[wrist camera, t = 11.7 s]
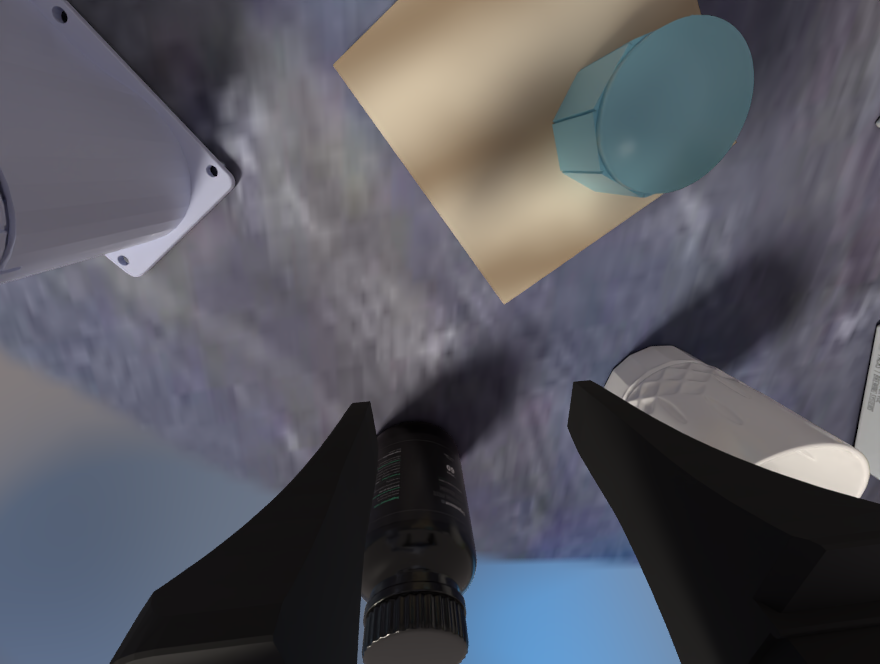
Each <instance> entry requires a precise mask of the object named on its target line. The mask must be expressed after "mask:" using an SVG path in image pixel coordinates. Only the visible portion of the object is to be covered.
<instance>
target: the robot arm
mask: <svg viewBox="0 0 880 664" xmlns="http://www.w3.org/2000/svg"><path fill="white" fill-rule="evenodd" d="M63 11H65V12H66V14H67V17H68V20H67V22H66V23H64V22H63V20H62V17H61V14H62V12H63ZM211 166H214V167H216V169H217V170H218V175H217V176H216V177H215V176H214V175H212V173H211V171H210V168H211ZM234 186H235V179H234V177H233V175H232V174H231V173H230V172H229V171H228V170H227V168H226V167H225V166H224V165H223V164H222V163H221V162H220V161H219V160H218V159H217V158H216V157H215V156H214V155H213V154H212V153H211V152H210V151H209V150H208V148H207V147H206V146H205V145H204V144H203V143H202V142H201V141H200V140H199V139H198V138H197V137H196V136H195V135H194V134H193V133H192V132H191V131H190V130H189V128H188V127H187V126H186V125H185V124H184V123H183V122H182V121H181V120H180V119H179V118H178V117H177V116H176V115H175V114H174V113H173V112H172V111H171V110H170V109H169V107H168V106H167V105H166V104H165V103H164V102H163V101H162V100H161V99H160V98H159V97H158V96H157V95H156V94H155V93H154V92H153V91H152V90H151V89H150V87H149V86H148V85H147V84H146V83H145V82H144V81H143V80H142V79H141V78H140V77H139V76H138V75H137V74H136V73H135V72H134V71H133V70H132V69H131V67H130V66H129V65H128V64H127V63H126V62H125V61H124V60H123V59H122V58H121V57H120V56H119V55H118V54H117V53H116V52H115V51H114V50H113V49H112V48H111V46H110V45H109V44H108V43H107V42H106V41H105V40H104V39H103V38H102V37H101V36H100V35H99V34H98V33H97V32H96V31H95V30H94V29H93V28H92V26H91V25H90V24H89V23H88V22H87V21H86V20H85V19H84V18H83V17H82V16H81V15H80V14H79V13H78V12H77V11H76V10H75V9H74V8H73V6H72V5H71V4H70V3H69V2H68V1H67V0H0V284H3V283H6V282H10V281H13V280H17V279H20V278H24V277H27V276H31V275H34V274H38V273H41V272H45V271H48V270H52V269H55V268H59V267H62V266H66V265H69V264H73V263H76V262H80V261H83V260H87V259H90V258H94V257H98V256H101V255H105V256H106V257H107V258H109V259H110V260H111V261H112V262H114V263H115V264H116V265H117V266H119V267H120V268H121V269H122V270H124V271H125V272H126V273H127V274H129V275H131V276H134V277H139V276H142V275H144V274H146V273H147V272H148V271H149V270H150V269H151V268H152V267H153V266H154V265H155V264H156V263H157V262H158V261H159V260H160V259H161V258H162V257H163V256H164V255H165V254H166V253H168V252H169V251H170V250H171V249H172V248H173V247H174V246H175V245H176V244H177V243H178V242H179V241H180V240H181V239H182V238H183V237H184V236H185V235H186V234H187V233H188V232H189V231H190V230H191V229H192V228H193V227H194V226H195V225H196V224H197V223H198V222H199V221H200V220H201V219H202V218H203V217H205V216H206V215H207V214H208V213H209V212H210V211H211V210H212V209H213V208H214V207H215V206H216V205H217V204H218V203H219V202H220V201H221V200H222V199H223V198H224V197H225V196H226V195H227V194H228V193H229V192H230V191H231V190H232V189H233V188H234ZM123 256H125V257H126V258H127V259H128V260H129V263H127V262H126V261H125V260H124V258H123ZM567 427H568V429H569V432H570V434H571V437H572V439H573V441H574V444H575V446H576V448H577V450H578V452H579V454H580V456H581V458H582V459H583V461H584V463H585V465H586V466H587V468H588V470H589V471H590V473H591V475H592V476H593V478H594V480H595V481H596V483H597V485H598V486H599V488H600V490H601V491H602V493H603V495H604V496H605V498H606V499H607V501H608V503H609V504H610V506H611V508H612V509H613V511H614V513H615V515H616V517H617V518H618V520H619V522H620V524H621V526H622V528H623V530H624V532H625V534H626V536H627V538H628V540H629V543H630V545H631V547H632V549H633V551H634V553H635V555H636V557H637V559H638V562H639V564H640V566H641V568H642V570H643V573H644V575H645V577H646V579H647V582H648V584H649V586H650V588H651V590H652V593H653V595H654V598H655V600H656V602H657V605H658V607H659V610H660V612H661V614H662V617H663V619H664V621H665V623H666V626H667V629H668V631H669V633H670V636H671V639H672V641H673V644H674V646H675V649H676V652H677V654H678V657H679V659H680V662H681V664H880V504H878V503H874V502H871V501H867V500H864V499H860V498H857V497H853V496H850V495H846V494H843V493H839V492H836V491H832V490H829V489H825V488H822V487H819V486H815V485H812V484H809V483H806V482H803V481H800V480H797V479H794V478H791V477H788V476H785V475H782V474H780V473H777V472H774V471H771V470H768V469H766V468H763V467H760V466H758V465H755V464H753V463H750V462H747V461H745V460H742V459H740V458H737V457H735V456H732V455H730V454H728V453H725V452H723V451H720V450H718V449H716V448H714V447H712V446H709V445H707V444H705V443H703V442H701V441H698V440H696V439H694V438H692V437H690V436H688V435H686V434H684V433H682V432H680V431H678V430H676V429H674V428H672V427H671V426H669V425H667V424H665V423H663V422H661V421H659V420H657V419H656V418H654V417H652V416H650V415H649V414H647V413H645V412H643V411H642V410H640V409H638V408H637V407H635V406H633V405H632V404H630V403H628V402H627V401H625V400H623V399H622V398H620V397H618V396H617V395H615V394H613V393H612V392H610V391H608V390H607V389H605V388H603V387H602V386H600V385H598V384H596V383H594V382H593V381H591V380H588V381H578V382H573V389H572V396H571V403H570V411H569V418H568V425H567ZM377 466H378V441H377V435H376V430H375V425H374V419H373V414H372V409H371V403H370V401H369V402H359V403H352V404H351V405H350V407H349V408H348V410H347V411H346V412H345V414H344V415H343V417H342V418H341V420H340V421H339V423H338V424H337V425H336V427H335V428H334V430H333V431H332V432H331V434H330V435H329V436H328V438H327V439H326V440H325V442H324V443H323V444H322V446H321V447H320V448H319V450H318V451H317V452H316V453H315V454H314V456H313V457H312V458H311V459H310V460H309V462H308V463H307V464H306V465H305V466H304V468H303V469H302V470H301V471H300V472H299V473H298V474H297V476H296V477H295V478H294V479H293V480H292V481H291V482H290V483H289V484H288V485H287V486H286V487H285V488H284V489H283V490H282V491H281V492H280V493H279V494H278V495H277V496H276V497H275V498H274V499H273V500H272V501H271V502H270V503H269V504H268V505H267V506H265V507H264V508H263V509H262V510H261V511H260V512H259V513H258V514H257V515H255V516H254V517H253V518H252V519H251V520H250V521H249V522H248V523H246V524H245V525H244V526H243V527H242V528H240V529H239V530H238V531H237V532H236V533H234V534H233V535H232V536H231V537H229V538H228V539H227V540H226V541H224V542H223V543H222V544H220V545H219V546H218V547H216V548H215V549H214V550H213V551H211V552H210V553H209V554H207V555H206V556H205V557H203V558H202V559H201V560H199V561H198V562H196V563H195V564H193V565H192V566H190V567H189V568H188V569H186V570H185V571H184V572H182V573H181V574H179V575H178V576H176V577H175V578H173V579H172V580H171V581H169V582H168V583H166V584H165V585H164V586H162V587H160V588H159V589H157V590H156V591H154V592H153V594H152V595H151V597H150V598H149V600H148V602H147V603H146V604H145V606H144V607H143V609H142V610H141V612H140V614H139V615H138V617H137V618H136V620H135V622H134V623H133V625H132V627H131V629H130V630H129V632H128V633H127V635H126V637H125V638H124V640H123V642H122V643H121V646H120V647H119V649H118V650H117V652H116V654H115V655H114V657H113V659H112V660H111V662H110V664H357V652H358V634H359V617H360V601H361V587H362V575H363V562H364V551H365V543H366V536H367V530H368V525H369V519H370V513H371V507H372V501H373V495H374V489H375V483H376V477H377Z"/></svg>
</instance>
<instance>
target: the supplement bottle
mask: <svg viewBox="0 0 880 664" xmlns="http://www.w3.org/2000/svg"><path fill="white" fill-rule="evenodd" d="M377 441H378V466H377V477H376V483H375V489H374V495H373V501H372V507H371V513H370V519H369V525H368V530H367V536H366V543H365V551H364V562H363V575H362V587H361V597H363V599H364V600H365V601H366V602H367V604H366V607H365V612H364V619H363V623H364V627H365V628H364V638H363V647H362V658H363V663H364V664H459V663H461V662H462V660H463V659H464V658H465V655H466V654H467V653H468V634H467V626H466V607H465V600H464V598H463V596H462V595H463V594H464V593H465V592H466V591H467V589H468V588H469V586H470V584H471V582H472V580H473V577H474V574H475V571H476V563H477V559H476V551H475V544H474V538H473V532H472V526H471V520H470V514H469V509H468V503H467V497H466V491H465V485H464V479H463V473H462V467H461V461H460V456H459V451H458V448H457V445H456V443H455V441H454V439H453V438H452V437H451V436H450V435H449V434H448V433H447V432H446V431H445V430H443V429H442V428H440V427H438V426H436V425H433V424H430V423H426V422H419V421H412V422H404V423H400V424H397V425H394V426H392V427H390V428H388V429H386V430H385V431H383V432H382V433H381V434H380V435H379V436H378V437H377Z"/></svg>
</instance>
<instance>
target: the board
mask: <svg viewBox="0 0 880 664" xmlns="http://www.w3.org/2000/svg"><path fill="white" fill-rule="evenodd" d="M691 15H701V12H700V9H699V5H698V1H697V0H398V1H397V2H396V3H395V4H394V5H393V6H392V7H391V8H390V9H389V10H388V11H387V12H386V13H385V14H384V15H383V16H382V17H381V18H380V19H379V20H378V21H377V22H376V23H375V24H374V25H373V26H372V27H371V28H370V29H369V30H368V31H367V32H366V33H365V34H364V35H363V36H362V37H361V38H360V39H358V40H357V41H356V42H355V43H354V44H353V45H352V46H351V47H350V48H349V49H348V50H347V51H346V52H345V53H344V54H343V55H342V56H341V57H340V58H339V59H338V60H337V61H336V62H335V63H334V64H333V66H334V68H335V69H336V70H337V72H338V73H339V74H340V76H341V77H342V79H343V80H344V81H345V83H346V84H347V86H348V87H349V88H350V90H351V91H352V93H353V94H354V95H355V97H356V98H357V100H358V101H359V102H360V104H361V105H362V107H363V108H364V109H365V111H366V112H367V114H368V115H369V116H370V118H371V119H372V121H373V122H374V123H375V125H376V126H377V128H378V129H379V130H380V132H381V133H382V135H383V136H384V137H385V139H386V140H387V142H388V143H389V144H390V146H391V147H392V149H393V150H394V151H395V153H396V154H397V156H398V157H399V158H400V160H401V161H402V163H403V164H404V165H405V167H406V168H407V169H408V171H409V172H410V174H411V175H412V176H413V178H414V179H415V181H416V182H417V183H418V185H419V186H420V188H421V189H422V190H423V192H424V193H425V195H426V196H427V197H428V199H429V200H430V202H431V203H432V204H433V206H434V207H435V209H436V210H437V211H438V213H439V214H440V216H441V217H442V218H443V220H444V221H445V223H446V224H447V225H448V227H449V228H450V230H451V231H452V232H453V234H454V235H455V237H456V238H457V239H458V241H459V242H460V244H461V245H462V246H463V248H464V249H465V251H466V252H467V253H468V255H469V256H470V258H471V259H472V260H473V262H474V263H475V265H476V266H477V267H478V269H479V270H480V271H481V273H482V274H483V276H484V277H485V278H486V280H487V281H488V283H489V284H490V285H491V287H492V288H493V290H494V291H495V292H496V294H497V295H498V297H499V298H500V299H501V301H502V302H503V304H506V303H507V302H509V301H510V300H512V299H513V298H514V297H516V296H517V295H519V294H520V293H522V292H523V291H524V290H526V289H527V288H529V287H530V286H532V285H533V284H534V283H536V282H537V281H539V280H540V279H542V278H543V277H545V276H546V275H547V274H549V273H550V272H552V271H553V270H555V269H556V268H557V267H559V266H560V265H562V264H563V263H565V262H566V261H568V260H569V259H570V258H572V257H573V256H575V255H576V254H578V253H579V252H580V251H582V250H583V249H585V248H586V247H588V246H589V245H590V244H592V243H593V242H595V241H596V240H598V239H599V238H601V237H602V236H603V235H605V234H606V233H608V232H609V231H611V230H612V229H613V228H615V227H616V226H618V225H619V224H621V223H622V222H624V221H625V220H626V219H628V218H629V217H631V216H632V215H634V214H635V213H636V212H638V211H639V210H641V209H642V208H644V207H645V206H646V205H648V204H649V203H651V202H652V201H654V200H655V199H657V198H658V197H659V196H661V195H662V194H664V193H659V194H653V195H651V196H648V197H646V198H640V197H633V196H625V195H618V194H610V193H602V192H595V191H593V190H591V189H589V188H588V187H586V186H584V185H582V184H581V183H579V182H577V181H575V180H574V179H572V178H570V177H568V176H567V175H565V174H563V173H562V171H560V166H559V161H558V155H557V150H556V144H555V138H554V133H553V127H552V124H555V123H554V122H553V120H554V118H555V116H556V114H557V112H558V110H559V108H560V106H561V104H562V102H563V100H564V98H565V96H566V94H567V92H568V90H569V88H570V86H571V84H572V82H573V81H574V79H575V77H576V75H577V73H578V72H579V71H580V70H581V69H583V68H584V67H586V66H588V65H590V64H591V63H593V62H595V61H597V60H598V59H600V58H602V57H604V56H605V55H607V54H609V53H611V52H612V51H614V50H616V49H617V48H619V47H621V46H623V45H624V44H626V43H628V42H630V41H631V40H633V39H636V38H638V37H641V36H643V35H645V34H648V33H650V32H653V31H655V30H657V29H659V28H661V27H663V26H665V25H667V24H669V23H671V22H673V21H675V20H678V19H681V18H683V17H687V16H691ZM735 143H737V142H736V140H735V142H734V143H733V145H734V144H735ZM733 145H732V146H733Z"/></svg>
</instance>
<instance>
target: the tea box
mask: <svg viewBox="0 0 880 664" xmlns="http://www.w3.org/2000/svg"><path fill="white" fill-rule="evenodd" d="M854 448H856V449H858V450H859V451H860V452H862V453H863V454H864V455H865V457H866V458H867V460H868V462H869V466H870V474H871V475H873V476H874V477H876V478H877V479H879V480H880V324H879V325H878V326H877V328H876V334H875V340H874V345H873V351H872V356H871V361H870V367H869V372H868V378H867V383H866V388H865V393H864V399H863V405H862V410H861V415H860V420H859V425H858V431H857V436H856V441H855V446H854Z"/></svg>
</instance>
